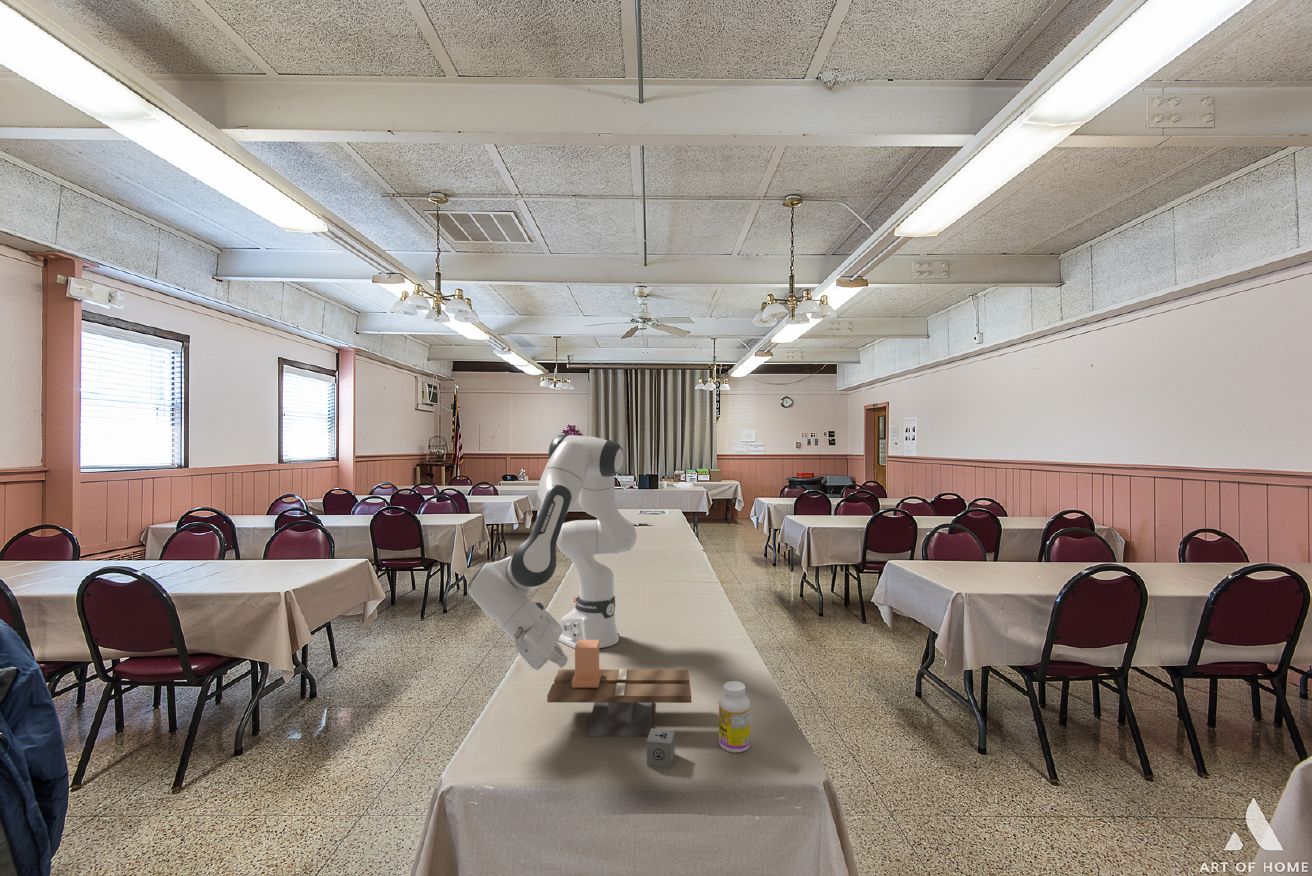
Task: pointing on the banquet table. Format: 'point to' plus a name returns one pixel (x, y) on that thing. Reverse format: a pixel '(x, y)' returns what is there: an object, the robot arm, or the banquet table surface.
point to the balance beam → (623, 698)
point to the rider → (587, 664)
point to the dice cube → (660, 748)
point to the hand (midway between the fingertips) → (565, 663)
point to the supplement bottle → (734, 718)
